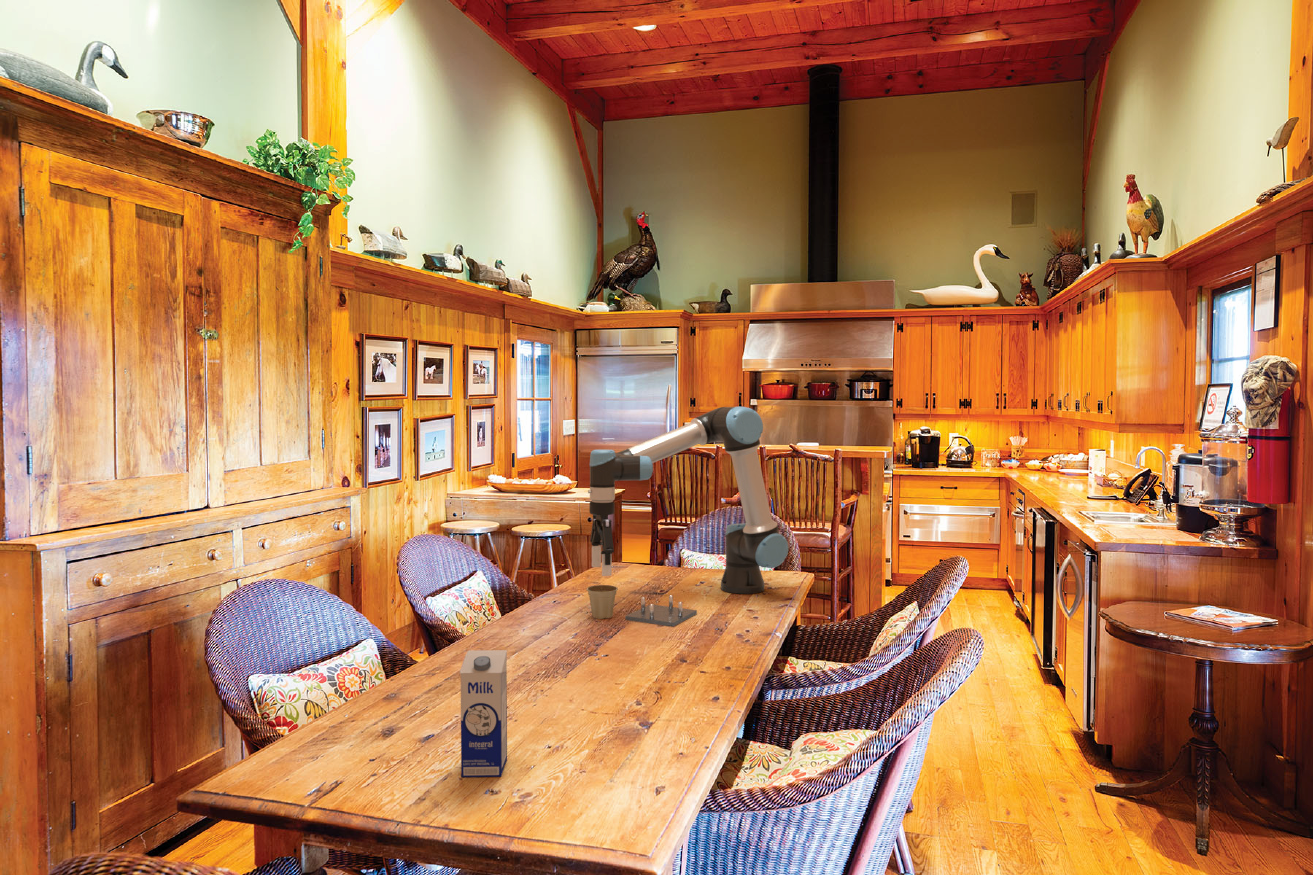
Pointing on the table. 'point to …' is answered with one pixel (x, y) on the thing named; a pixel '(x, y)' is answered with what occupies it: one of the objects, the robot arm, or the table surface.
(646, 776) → the table surface
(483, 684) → the milk carton
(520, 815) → the table surface
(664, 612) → the plate
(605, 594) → the flower pot
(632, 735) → the table surface
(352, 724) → the table surface
